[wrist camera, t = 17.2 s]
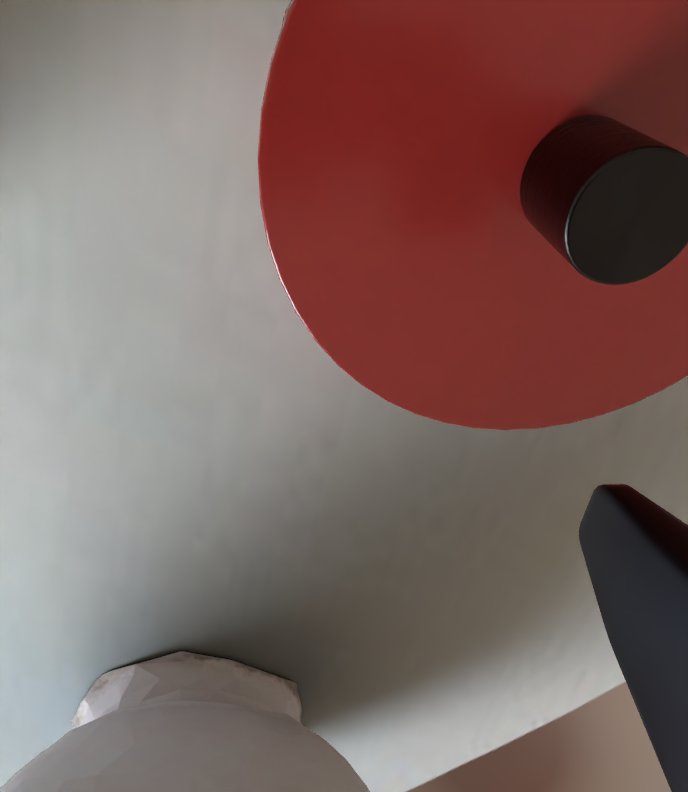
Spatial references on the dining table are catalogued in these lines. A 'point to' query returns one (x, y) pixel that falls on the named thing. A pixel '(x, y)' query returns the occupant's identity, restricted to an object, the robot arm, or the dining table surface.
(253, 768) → the ceramic pitcher
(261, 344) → the dining table surface
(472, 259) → the pot lid
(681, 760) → the robot arm
